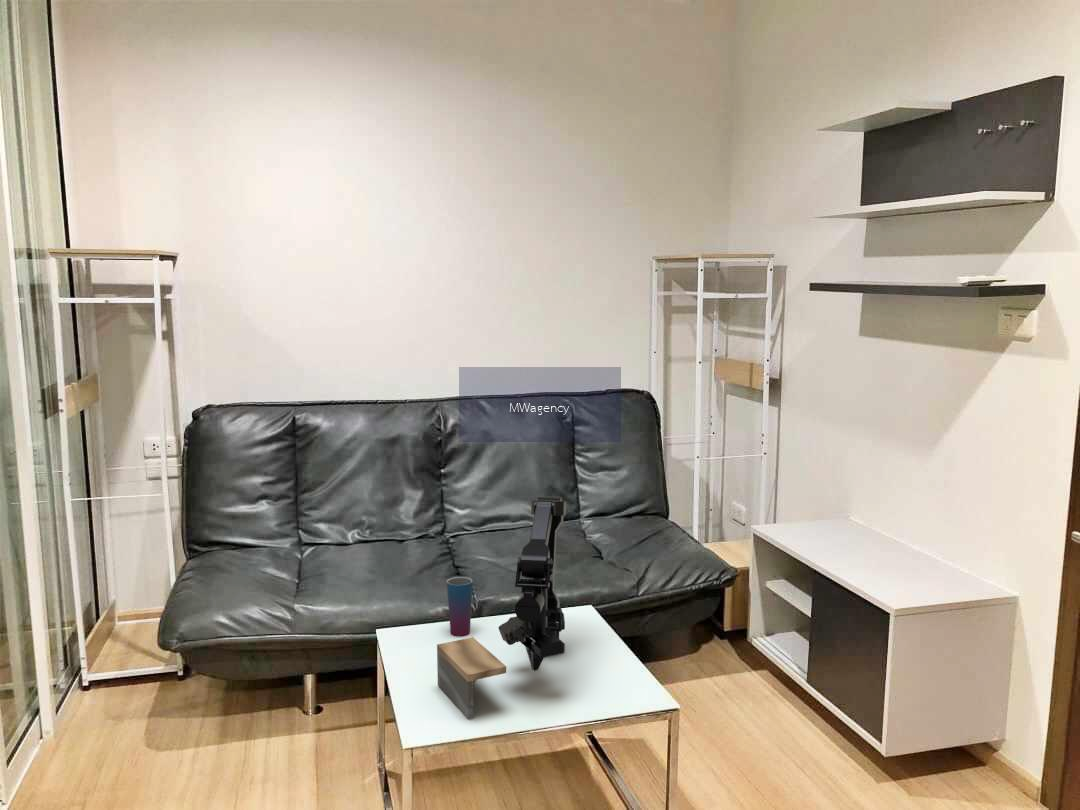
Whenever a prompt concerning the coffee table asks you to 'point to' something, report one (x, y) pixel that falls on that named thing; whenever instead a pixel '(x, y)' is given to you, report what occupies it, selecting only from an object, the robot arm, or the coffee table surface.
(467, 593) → the cup
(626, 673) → the coffee table surface
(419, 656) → the coffee table surface
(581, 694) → the coffee table surface
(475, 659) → the block
